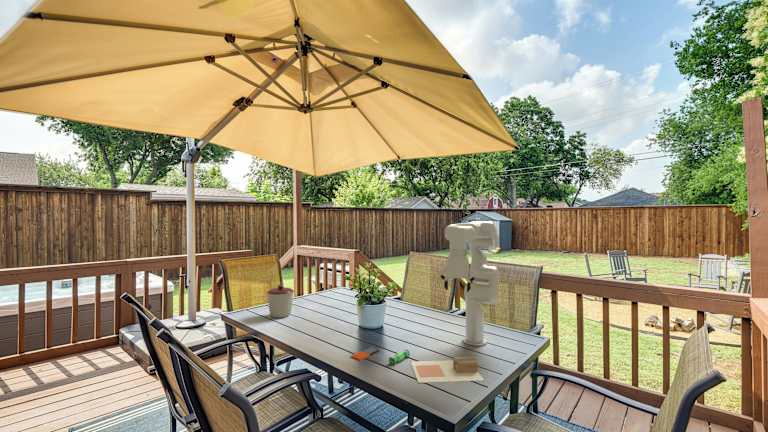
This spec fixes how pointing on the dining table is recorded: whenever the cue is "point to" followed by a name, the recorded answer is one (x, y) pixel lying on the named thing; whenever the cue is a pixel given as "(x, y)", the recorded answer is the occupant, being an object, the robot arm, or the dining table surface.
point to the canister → (280, 301)
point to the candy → (399, 356)
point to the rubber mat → (440, 372)
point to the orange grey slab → (364, 353)
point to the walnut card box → (465, 364)
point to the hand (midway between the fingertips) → (457, 290)
